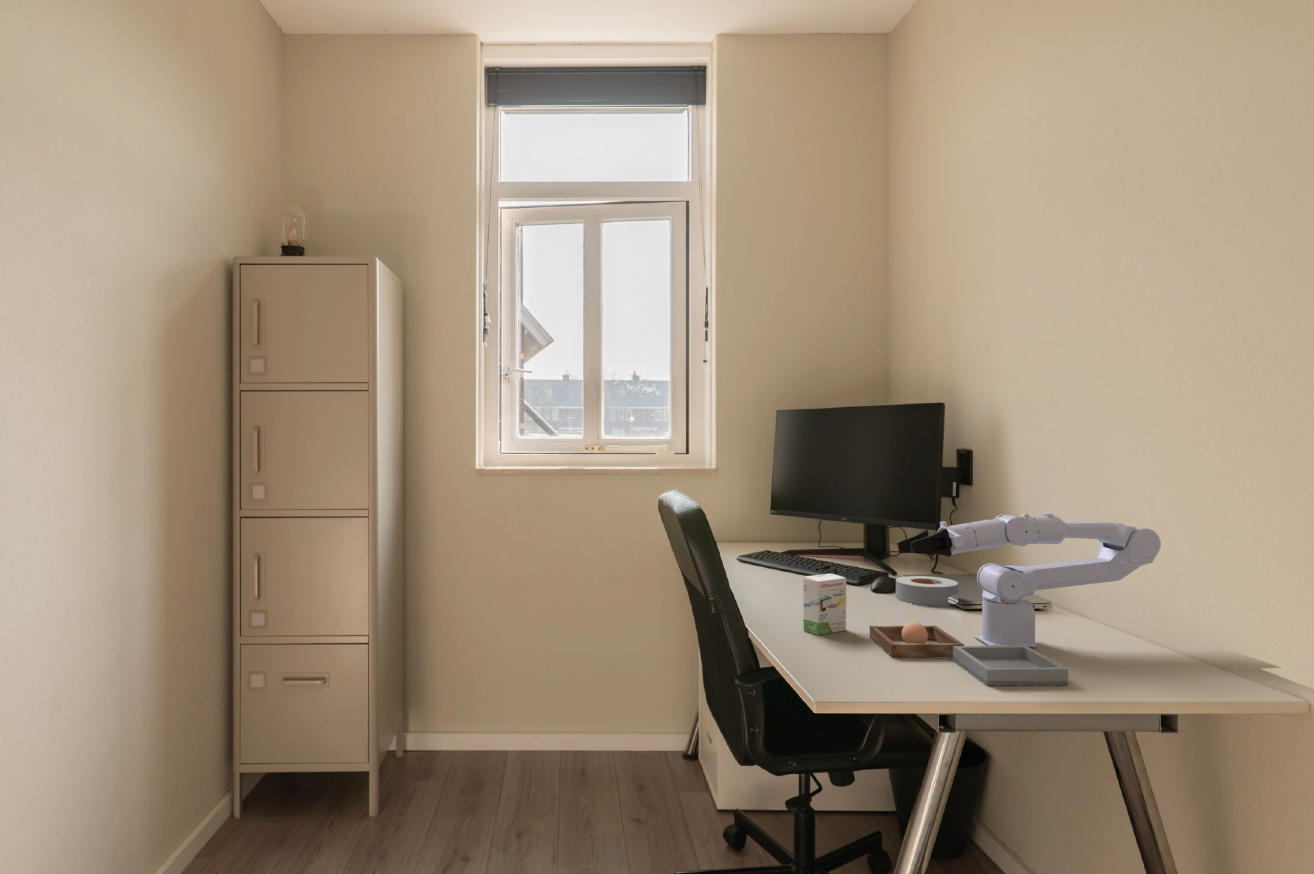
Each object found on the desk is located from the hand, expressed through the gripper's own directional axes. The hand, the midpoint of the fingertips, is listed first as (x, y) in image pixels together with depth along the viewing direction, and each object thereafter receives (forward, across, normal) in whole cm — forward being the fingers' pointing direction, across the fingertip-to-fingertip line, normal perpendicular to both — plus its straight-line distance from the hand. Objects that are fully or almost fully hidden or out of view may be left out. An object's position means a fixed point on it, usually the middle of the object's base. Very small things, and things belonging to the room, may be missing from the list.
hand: (904, 547), depth 153 cm
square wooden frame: (+2, 0, +20) cm, 20 cm away
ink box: (+16, -13, +16) cm, 26 cm away
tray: (-8, +16, +24) cm, 30 cm away
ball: (+2, 0, +17) cm, 17 cm away
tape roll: (-17, -43, +17) cm, 49 cm away
